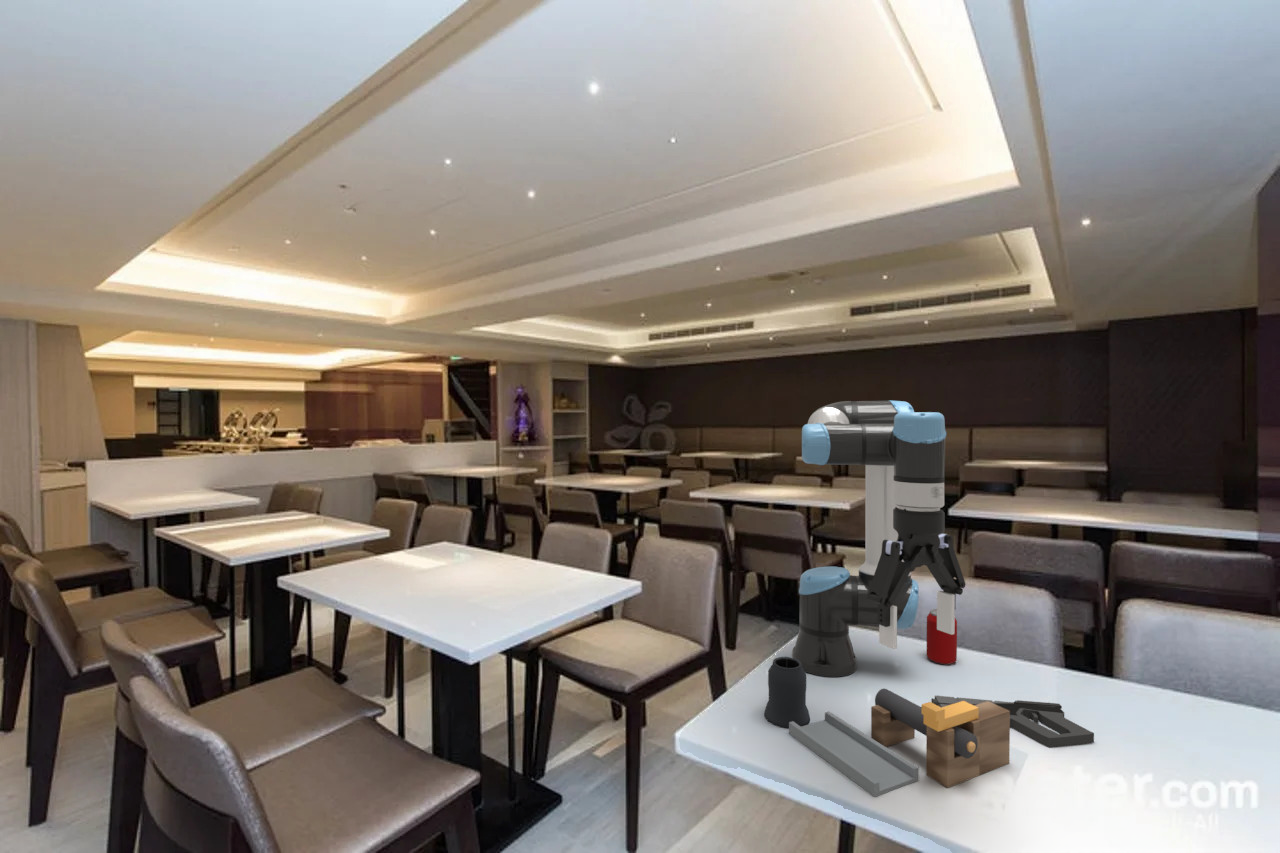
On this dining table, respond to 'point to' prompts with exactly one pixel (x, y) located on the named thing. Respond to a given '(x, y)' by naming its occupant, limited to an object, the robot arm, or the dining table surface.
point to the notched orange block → (948, 715)
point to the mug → (787, 693)
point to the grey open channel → (856, 754)
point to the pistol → (1037, 711)
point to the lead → (914, 718)
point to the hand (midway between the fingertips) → (917, 638)
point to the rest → (888, 728)
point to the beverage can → (940, 642)
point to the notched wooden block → (989, 752)
